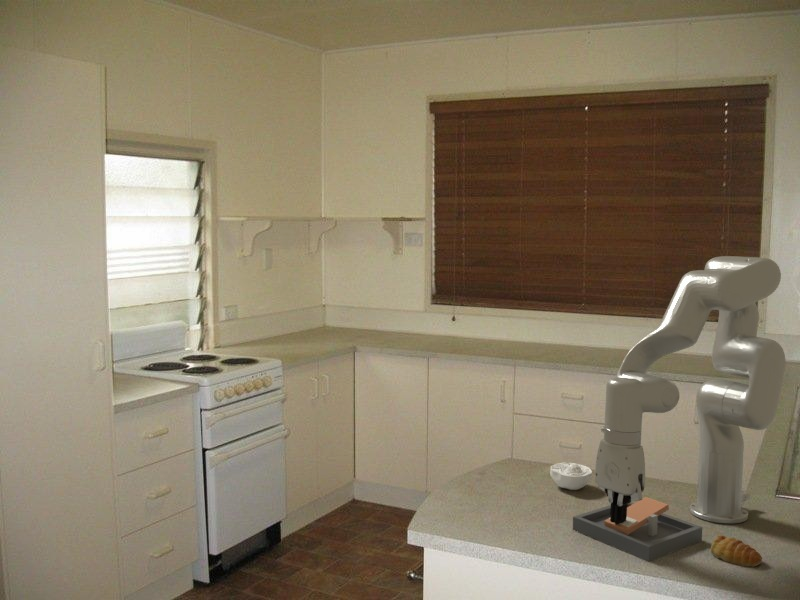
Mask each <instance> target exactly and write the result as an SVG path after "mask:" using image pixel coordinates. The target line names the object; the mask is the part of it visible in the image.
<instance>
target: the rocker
mask: <svg viewBox="0 0 800 600" xmlns="http://www.w3.org/2000/svg"><path fill="white" fill-rule="evenodd" d="M633 503H634V504H632V505H631V506H629V507H627V517H626V521H624V522H623V523H620V524H615V523H613V522H611V521H610V518H608V519H607V520H605V521H604V523H605V526H606V527H609V528H611V529H614V530H616V531H619V532H621V533H624V534H626V535H628V534H630V533H631V532H633V531H635V530H636V529H638V528H640V527H641V526H643V525H644V524H646V523H648V522H649V515H652V514H655V515H658V516H659V515H661V514H662V513H663V514H665V513H666V512H667V511H669V510H670V508H669V503H668V504H667V503H665V502H664V501H663V502H662V501H659V500H656V499H653V498H650V497H647V496H644V497H642V500H640V501H635V502H633Z"/></svg>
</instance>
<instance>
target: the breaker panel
mask: <svg viewBox="0 0 800 600" xmlns="http://www.w3.org/2000/svg"><path fill="white" fill-rule="evenodd" d="M634 503H635V502H633V501H631V502H630V504H627V507H629V506H631V505H632V504H634ZM610 512H611V504H610V505H607V506H604V507H601V508H597V509H594V510H590V511H587V512H583V513H580V514H577V515H574V516H572V530H573V531H574V530H575V531H574V532H577V531H578V532H577V533H579V532H580V534H581V533H582V535H584V536H587V537H589V538H591V539H594V540H596V541H598V542H601V543H603V544H605V545H608V546H611V547H612V548H615V549H618V550H620V551H623V552H625V553H628V554H630V555H632V556H634V557H637V558H639V559H642V560H644V561H647V562H650V561H653V560H656V559H658V558H661V557H664V556H665V555H668V554H671V553H674V552H677V551H680V550H682V549H683V548H687V547H689V546H693V545H695V544H698V543H701V542H702V541H703V527H702V526H701V525H697V524H695V523H692V522H688V521H685V520H683V519H681V518H677V517H675V516H671V515H669V514H665V513H662V514H661V515H659V516H658V515H655V514H652V515H649V522H648V523H646V524H644V525H643V526H641V527H640V528H638V529H636V530H635V531H633V532H631V533H630V534H628V535H626V534H624V533H621V532H619V531H616V530H614V529H611V528H609V527H606V526H605V523H604V521H605V520H607V519H608V518H610V516H611V515H610Z"/></svg>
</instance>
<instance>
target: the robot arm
mask: <svg viewBox="0 0 800 600" xmlns="http://www.w3.org/2000/svg"><path fill="white" fill-rule="evenodd" d="M781 279H782V273H781V269H780V266H779V265H778V264H777V262H775V261H774V260H773V259H771V258H766V257H758V256H740V255H739V256H738V255H737V256H736V255H734V256H732V255H722V256H715V257H713V258H711V259H709V260H708V261H707V262H706V263H705V266H704V269H698V270H691V271H688V272H687V273H685V274H684V275H682V277H681V279H680V280H679V283H678V285H677V286H676V289H675V291H674V293H673V296H672V297H671V300H670V302H669V304H668V305H667V308H666V310H665V313H664V314H663V316H662V318H661V321H660V323H659V325H658V326H657V327H656V328H655V329H654V330H653V331H651V332H650V333H648V334H647V335H646V336H644V337H643V338H642V339H641V340H640V341H638V342H637V343H635V345H634V346H633V347H632V348H630V349H629V350H628V353H627V354H626V355H625V357H624V358H623V360H622V362H621V365H620V367H619V369H618V371H617V374H616V377H612V378H610V379H608V381H607V383H606V387H605V388H606V391H605V408H604V409H605V410H604V426H602V427H601V429H600V431H601V432H602V433H603V438H602V439H600V442H599V445H598V448H597V453H596V459H595V466H594V467H595V468H594V477H593V478H594V483H595V484H596V485H597V487H598V488H599V489H600V490H602V491H603V492H604V493H605V494H606V496H607V498H608V499H607V500H608V503H609V504H610V505H611V512H610V515H611V516H610V521H611V522H613V523H615V524H620V523H623V522H624V521H626V517H627V504H630V502H637V501H640V500H642V498H643V492H644V491H645V486H646V485H645V484H646V462H645V452H644V447H643V445H642V444H641V443H642V427H643V425H642V424H643V414H644V413H650V414H651V413H654V414H664V413H667V412H671V411H672V410H673V409H675V407H676V406H677V405H678V403H679V400H680V390H679V388H678V386H677V385H676V384H675V383H674V381H671V380H670V379H668V378H665V377H662V376H656V375H652V374H647V371H648V370H649V369H650V368H651V367H652V365H653V364H655V362H657V361H658V360H660V359H661V358H663V357H665V356H668V355H670V354H673V353H677V352H679V351H683V350H686V349H688V348H689V349H690V348H691V347H693V346H694V345H696V343H698V340H699V338H700V336H701V333H702V331H703V329H704V327H705V325H706V323H707V321H708V317H709V316H710V315H711V312H712V311H714V310H715V311H718V321H717V327H716V331H715V335H714V336H715V337H714V341H713V342H714V343H713V346H712V347H713V348H712V353H711V362H712V366H713V368H714V369H715V370H716V371H718V372H720V373H721V374H722V373H723V374H726V375H730V376H735V377H740V378H745V379H748V380H749V381H748V384H747V383H742V382H738V381H731V380H727V379H720V378H719V379H718V378H715V379H709V380H707V381H705V382H703V383H702V384H701V385H700V386H699V388H698V389H697V392H696V396H695V399H696V400H695V403H696V410H697V415H698V422H699V424H698V425H699V442H698V443H699V445H698V446H699V447H698V467H697V468H698V472H697V497H696V499H697V500H696V501H693V502H692V503H691V504H690V505H689V512H690V513H691V514H692V515H693V516H695V517H697V518H698V519H702V520H704V521H708V522H712V523H718V524H729V525H730V524H740V523H743V522H746V521H747V520H748V519H749V512H748V511H747V509H745V507H742V506H743V503H744V502H746V501H748V500H750V498H751V495H750V493H749V492H747V491H744V492H743V473H744V471H743V469H744V452H745V449H744V448H745V444H744V442H745V441H744V436H743V433H742V430H741V428H745V429H750V430H753V431H763V430H765V429H767V428H769V427H770V426H771V425H772V423H773V422H774V420H775V417H776V416H777V412H778V407H779V403H780V398H781V397H780V396H781V393H782V387H783V383H784V377H785V371H786V354H785V351H784V349H783V347H782V345H781V344H780V343H779V342H777V341H776V340H774V339H772V338H768V337H760V336H757V335H758V327H759V320H760V312H759V308H758V306H757V302H759V301H761V300H762V301H763V299H766V298H768V297H769V296H772V294H773V293H774V292H776V290H777V289H778V288H779V285H780V283H781ZM740 427H741V428H740Z"/></svg>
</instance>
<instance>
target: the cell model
mask: <svg viewBox="0 0 800 600" xmlns="http://www.w3.org/2000/svg"><path fill="white" fill-rule="evenodd" d="M549 474H550V475H549V476H550V477H551V478H552V480H553V481H554V483H556V485H557V486H558V487H560V488H562V489H566V490H570V491H577V490H580V489H582V488H584V487H585V486H586V485H588V483H590V481H591V479H592V474H593V470H592V469H591V468H590V467H589V466H587V465H584V464H579V463H574V462H568V461H563V462H557V463H555V464H552V465H550V472H549Z"/></svg>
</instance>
